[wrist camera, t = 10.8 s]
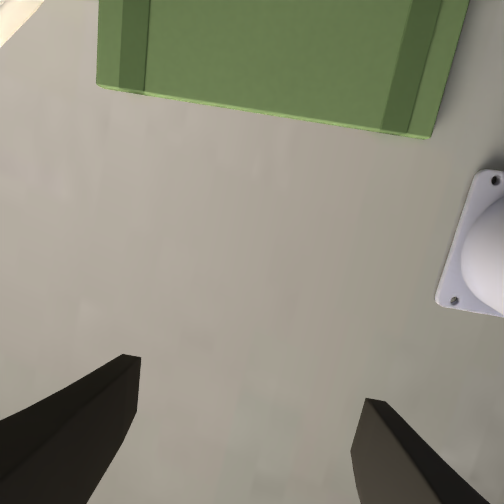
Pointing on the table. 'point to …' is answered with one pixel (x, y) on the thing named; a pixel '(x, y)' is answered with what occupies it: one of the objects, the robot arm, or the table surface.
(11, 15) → the calculator
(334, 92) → the towel
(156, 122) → the table surface
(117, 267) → the table surface
